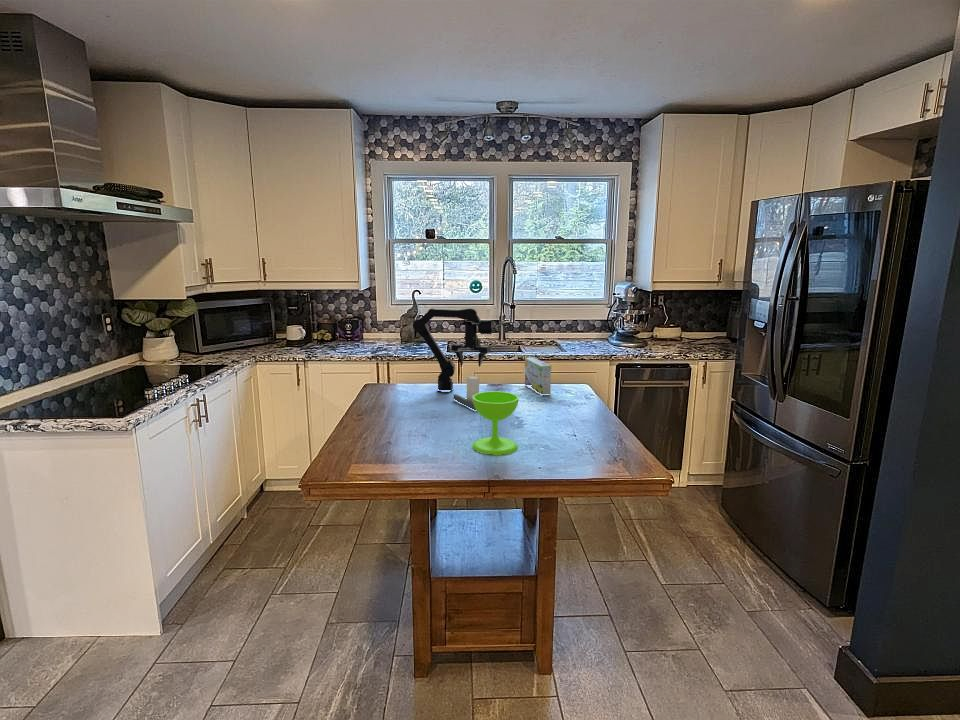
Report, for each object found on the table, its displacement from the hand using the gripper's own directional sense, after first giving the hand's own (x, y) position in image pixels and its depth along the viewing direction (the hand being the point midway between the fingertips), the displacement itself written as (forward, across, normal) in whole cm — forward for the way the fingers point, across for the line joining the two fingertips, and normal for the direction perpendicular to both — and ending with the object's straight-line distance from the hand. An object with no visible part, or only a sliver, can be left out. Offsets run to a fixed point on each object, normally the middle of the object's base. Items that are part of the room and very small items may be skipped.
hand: (470, 365), depth 255 cm
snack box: (+13, -30, -14) cm, 36 cm away
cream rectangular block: (+12, -10, +22) cm, 27 cm away
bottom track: (+13, -10, +22) cm, 27 cm away
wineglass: (+13, -36, +68) cm, 78 cm away
